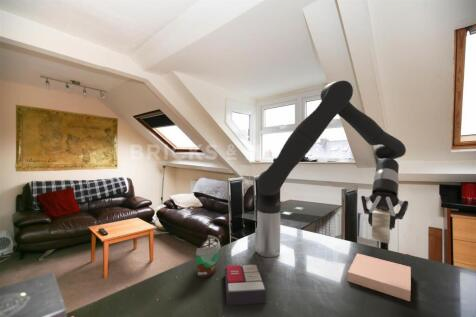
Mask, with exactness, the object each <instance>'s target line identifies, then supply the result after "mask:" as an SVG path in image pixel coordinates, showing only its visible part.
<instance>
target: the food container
mask: <svg viewBox="0 0 476 317" xmlns="http://www.w3.org/2000/svg"><path fill="white" fill-rule="evenodd" d="M220 249H221V243H220V240H219V238H218V237H216V236H214V235H209V234H208V235H207V238H206V240H205V241H204V242H202V243H201V246H200V247H197V248H196V252H195V256H196V264H197V265H196V266H197V277H198V278H205V277H210V276H212V275H214V274H215V273H217V271H218V261H219V260H218V259H219V250H220Z"/></svg>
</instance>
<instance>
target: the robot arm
mask: <svg viewBox="0 0 476 317" xmlns="http://www.w3.org/2000/svg"><path fill="white" fill-rule="evenodd" d="M353 88H354V87H353V85H352V83H351V82H349V81H348V80H343V79H342V80H336V81H334V82H331V83H329V84H326V85H325V86H324V87H323V88H322V90H321V92H320V100H321V101H320V103H319V104H318V106H317V107H316V108H315V109H314V110H313V111H312V112H311V113H310V114H309V115H307V116H306V118H304V119H303V120H302V121H301V122H300V123H299V124H298V125H297V126H296V127H295V129H294V130H293V131H292V133H291V134H290V135H289V136H288V138H287V139H286V141H285V143H284V144H283V146H282V148H281V149H280V152H279V153H278V155H277V157H276V159H275V160H274V161H273V162H272V163H271V164H270V165H269V167H268V168H267V169H266V170H264V171H263V172H261V173H260V174H259V175H258V178H257V204H256V205H257V206H256V207H257V211H256V212H257V216H256V217H257V219H256V220H257V221H256V222H257V225H256V226H257V227H256V228H255V229H254V230H255V232H254V233H255V234H254V249H255V250H254V252H255V253H257V254H258V255H259V256H261V257H265V258H275V257H278V256H280V254H281V208H282V207H281V204H282V203H281V188H282V187H283V184H284V183H285V182H286V180H287V178H288V177H289V175H290V174H291V172H292V171H293V170H294V168H295V167H297V165H299V163H300V162H301V161H302V160H303V158H304V157H305V156H306V155H307V154H308V153H309V151H311V149H312V148H313V147H314V145H315V144H316V143H317V141H318V140H319V138H320V137H321V135H322V134H323V133H324V132H325V130H326V129H327V127H328V126H329V125H330V124H331V122H332V121H333V120H334V118H335V117H336V116H337V115H338V116H340V117H341V118H342V119H343V120H344V121H345V122H346V123H348V124H349V125H350V127H352V128H353V129H354V130H355V131H356V133H357V134H358V135H359V136H360V137H362V138H363V140H364V141H365V142H366V143H367V144H368V145H369V146H376V147H375V148H374V150H373V157H374V160H375V163H376V166H375V167H376V168H375V174H374V177H373V182H372V183H373V184H372V190H371V194H370V195H369V196H365V195H361V196H360V200H361V204H362V208H363V213H364V214H365V215H368V219H367V222H368V225H369V226H370V227H372V212H373V211H374V210H375V209H376V210H383V211H390V212H391V216H390V225H389V229H390V231H392V230H393V229H395V228H396V220H403V218H404V216H405V215H406V212H407V210H408V208H409V201H408V200H404V201H403V200H400V199H399V197H398V195H399V187H400V186H399V185H400V184H399V183H400V182H399V167H400V165H399V163H398V161H397V160H395V159H398V158H401V157H403V156H405V154H406V152H407V150H406V149H407V148H406V146H405V144H404V143H403V142H402V141H401V140H400V139H398V138H396V137H395V136H393V135H391V134H390V133H388V132H386V131H384V129H382V127H381V126H380V125H379V124H378V123H377V122H376V121H375V120H374V119H373V118H371V117H370V116H369V115H367V114H366V113H364V112H362V111H361V110H359V109H358V108H357V107H355V106H354V105H353V104H352V103H351V99H352V98H353V95H354V89H353ZM369 202H371V203H372V204H371V207H370V209H369V208H368V205H367V204H369ZM397 205H398V206H399V211H398V213H397V212H395V207H396V206H397Z"/></svg>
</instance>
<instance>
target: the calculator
mask: <svg viewBox="0 0 476 317" xmlns="http://www.w3.org/2000/svg"><path fill="white" fill-rule="evenodd" d="M224 279H225V292H226V293H225V294H226V295H225V297H226V305H227V306H236V305H238V306H239V304H240V305H252V304H253V305H254V304H255V305H256V304H266V303H267V301H268V299H267V293H268V292H267V288H266V285H265V283H264V280H263V277H262V275H261V272H260V270H259V267H258V265H256V264H243V265H240V264H239V265H226V266H225V268H224Z"/></svg>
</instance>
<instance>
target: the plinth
mask: <svg viewBox="0 0 476 317" xmlns="http://www.w3.org/2000/svg"><path fill="white" fill-rule="evenodd" d="M411 271H412V267H411V266H407V265H403V264H400V263H396V262H393V261H388V260H384V259H380V258H377V257H374V256H369V255H365V254H361V253H356V255H355V257H354V259H353V261H352V262H351V264H350V266H349V269H348V271H347V282H350V283H353V284H355V285H359V286H362V287H363V288H368V289H371V290H374V291H378V292H381V293H383V294H386V295H388V296H393V297H396V298H398V299H401V300H405V301H407V302H411V291H412V290H411V289H412V288H411V287H412V284H411V282H412V281H411V280H412V279H411V278H412V277H411V276H412V275H411Z"/></svg>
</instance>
